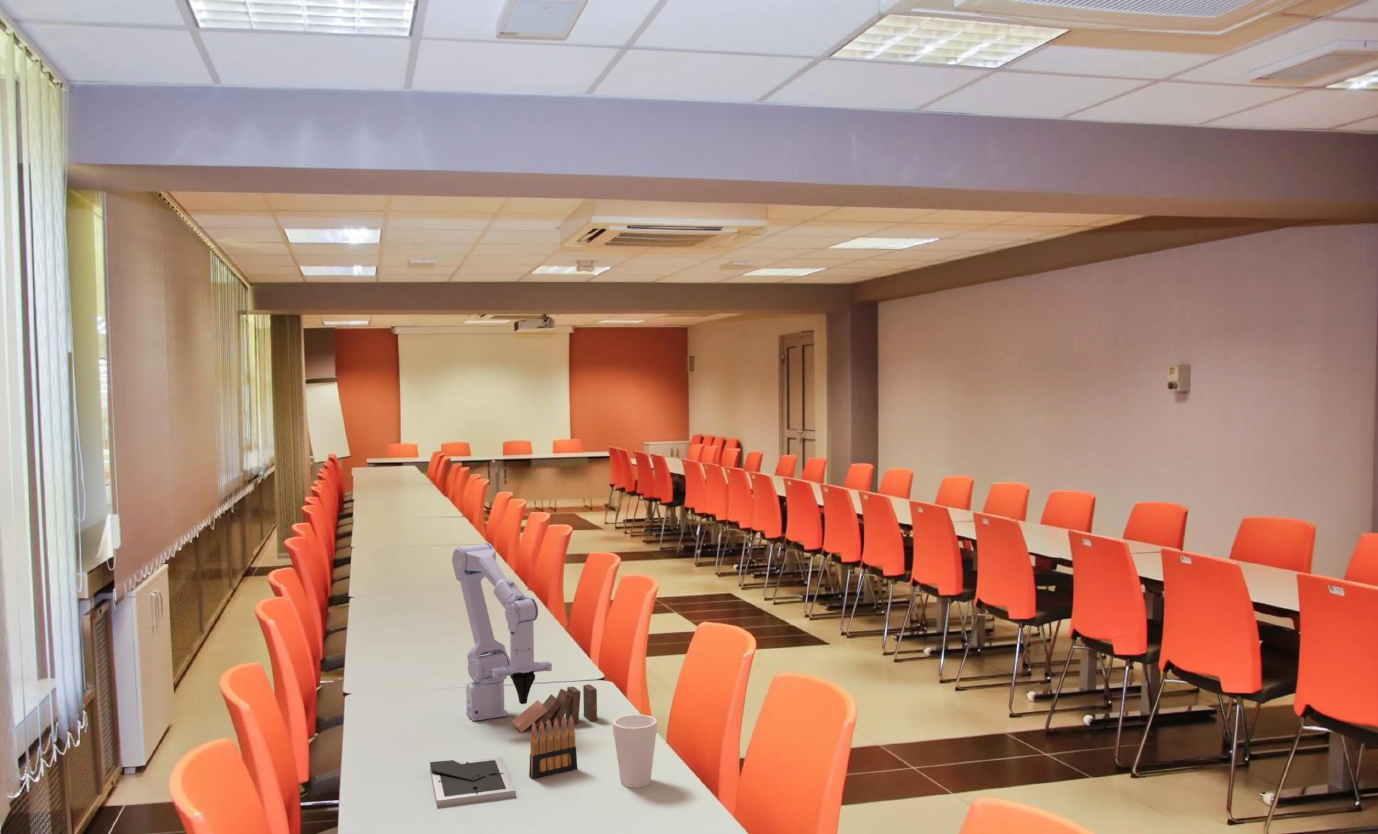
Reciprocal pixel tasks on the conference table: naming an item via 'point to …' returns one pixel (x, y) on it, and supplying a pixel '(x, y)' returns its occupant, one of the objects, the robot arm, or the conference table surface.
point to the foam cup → (635, 748)
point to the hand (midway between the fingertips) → (522, 702)
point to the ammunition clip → (552, 749)
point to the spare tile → (529, 716)
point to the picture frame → (470, 781)
